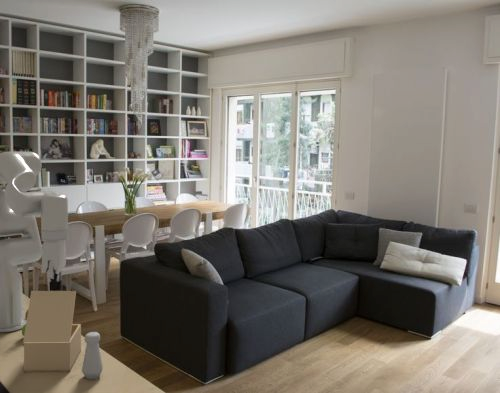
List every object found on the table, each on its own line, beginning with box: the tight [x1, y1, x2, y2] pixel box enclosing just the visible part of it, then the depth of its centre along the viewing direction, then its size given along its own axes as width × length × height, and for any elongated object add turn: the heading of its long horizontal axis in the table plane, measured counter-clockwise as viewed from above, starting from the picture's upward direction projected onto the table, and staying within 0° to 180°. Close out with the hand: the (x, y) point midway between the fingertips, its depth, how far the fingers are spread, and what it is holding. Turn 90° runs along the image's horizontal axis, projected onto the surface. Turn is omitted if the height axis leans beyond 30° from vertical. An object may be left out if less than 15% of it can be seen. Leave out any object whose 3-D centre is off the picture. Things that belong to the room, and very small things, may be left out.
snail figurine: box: [21, 309, 28, 337], centre depth 166 cm, size 5×6×12 cm
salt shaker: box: [81, 331, 104, 381], centre depth 141 cm, size 6×6×13 cm
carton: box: [23, 323, 82, 373], centre depth 150 cm, size 14×13×9 cm
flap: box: [22, 290, 77, 343], centre depth 145 cm, size 15×13×1 cm
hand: (55, 293), depth 150 cm, fingers closed
